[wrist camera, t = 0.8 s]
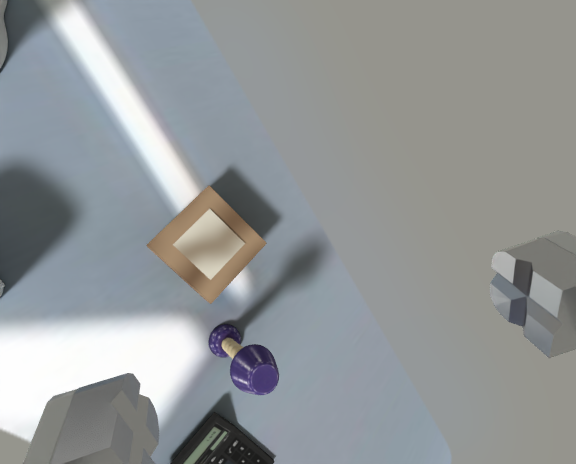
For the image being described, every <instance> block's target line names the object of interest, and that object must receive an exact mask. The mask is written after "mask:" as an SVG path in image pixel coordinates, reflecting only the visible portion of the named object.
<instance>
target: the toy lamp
mask: <svg viewBox="0 0 576 464" xmlns="http://www.w3.org/2000/svg"><path fill="white" fill-rule="evenodd" d="M240 344H241V337H240V333H239V331H238V330H237V329H236V328H235V327H234V326H232V325H228V324H224V325H220V326H218V327H216V328H215V329H214V330H213V331H212V333H211V334H210V337H209V347H210V349H211V351H212V352H213V353H214V354H215V355H216V356H219V357H229V356H230V357H231V358H232V359H233V360H232V362H231V366H230V375H231V379H232V381H233V383H234V384H235V386H236V387H237V388H239V389H240V390H242V391H244V392H247V393H251V394H256V395H265V394H268V393H270V392H272V391H273V390H274V389H275V387H276V386H277V383H278V380H279V372H278V368H277V365H276V362H275V359H274V357H273V355H272V353H271V352H270V351H269V350H268V349H267V348H265V347H264V346H261V345H256V344H254V345H248V346H245V347H244V348H243V347H242V346H241V345H240Z"/></svg>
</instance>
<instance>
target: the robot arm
mask: <svg viewBox="0 0 576 464" xmlns="http://www.w3.org/2000/svg"><path fill="white" fill-rule="evenodd" d="M6 5H7V0H0V68H1V67H2V65H3V63H4V60H5V57H6V54H7V47H8V39H7V32H6V27H5V23H4V12H5V8H6ZM492 268H493V269H494V270H495V271H496V273H497V274H496V276H495V277H494V278H493V280H492V281H491V283H490V296H491V298H492V301H493V304H494V306H495V307H496V309H497V310H498V312H499V313H500V314H501V315H502V316H503V317H504V318H505V319H506V320H507V321H508V322H511V323H513V324H517V325H519V326H522V327H523V332H524V336H525V337H526V338H527V339H528V340H529V341H530V342H532V343H533V344H534V345H535V346H536V347H537V348H538V349H539V350H541V351H542V352H543V353H544V354H545V355H546V356H547V357H549V358H551V357H554V356H557V355H560V354H563V353H566V352H569V351H572V350H575V349H576V236H574V235H572V234H570V233H568V232H563V231H556V232H553V233H550V234H547V235H544V236H541V237H538V238H537V239H534V240H531V241H528V242H524V243H521V244H519V245H516V246H513V247H510V248H507V249H504V250H501V251H498V252H496V253H495V255H494V256H493V258H492ZM139 390H140V383H139V381H138V380H137V379H136V377H135V376H134V374H131V373H127V374H123V375H120V376H117V377H113V378H110V379H107V380H104V381H100V382H97V383H94V384H90V385H87V386H84V387H81V388H79V389H76V390H73V391H69V392H66V393H63V394H59V395H56V396H53V397H52V398H51V399H50V400H49V401H48V402H47V404H46V406H45V409H44V411H43V414H42V416H41V419H40V421H39V424H38V426H37V429H36V431H35V434H34V436H33V439H32V441H31V444H30V447H29V449H28V452H27V454H26V457H25V459H24V462H23V464H155V463H154V462H153V460H152V459H151V457H150V456H151V455H152V453H153V452H154V450H155V449H156V447H157V445H158V441H159V426H158V418H157V414H156V411H155V408H154V406H153V404H152V402H151V401H150V399H149V398H148V397H145V396H143V395H140V394H139Z"/></svg>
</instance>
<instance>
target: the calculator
mask: <svg viewBox="0 0 576 464" xmlns="http://www.w3.org/2000/svg"><path fill="white" fill-rule="evenodd" d="M273 463H274V460H273V459H272V458H271V457H270V456H269V455H267V454H266V453H265V452H264V451H263V450H262V449H261V448H259V447H258V446H257V445H256V444H255V443H254V442H253V441H251V440H250V439H249V438H248V437H247V436H246V435H245V434H243V433H242V432H241V431H240V430H239V429H238V428H236V427H235V426H234V425H233V424H232V423H230V422H229V421H227V420H226V419H224V418H223V417H221V416H220V415H218V414H217V413H215V412H214V413H213V414H212V415H211V417H210V418H209V419H208V420H207V421H206V422H205V424H204V425H203V426H202V427H201V428H200V429H199V431H198V432H197V433H196V434H195V435H194V436H193V438H192V439H191V440H190V441H189V442H188V444H187V445H186V446H185V447H184V448H183V449H182V451H181V452H180V453H179V454H178V455H177V456H176V458H175V459H174V460H173V461H172V462H171V463H170V464H273Z"/></svg>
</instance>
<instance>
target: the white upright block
mask: <svg viewBox="0 0 576 464" xmlns="http://www.w3.org/2000/svg"><path fill="white" fill-rule="evenodd" d="M3 287H5V284H4V283H3V282H2V281H1V280H0V297H1V295H2V293H3Z"/></svg>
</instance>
